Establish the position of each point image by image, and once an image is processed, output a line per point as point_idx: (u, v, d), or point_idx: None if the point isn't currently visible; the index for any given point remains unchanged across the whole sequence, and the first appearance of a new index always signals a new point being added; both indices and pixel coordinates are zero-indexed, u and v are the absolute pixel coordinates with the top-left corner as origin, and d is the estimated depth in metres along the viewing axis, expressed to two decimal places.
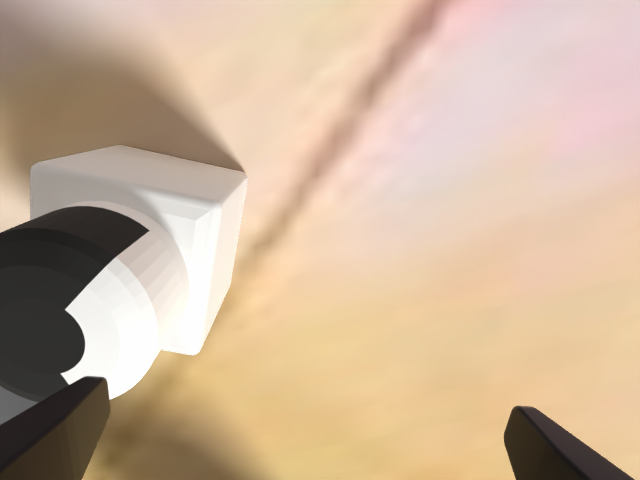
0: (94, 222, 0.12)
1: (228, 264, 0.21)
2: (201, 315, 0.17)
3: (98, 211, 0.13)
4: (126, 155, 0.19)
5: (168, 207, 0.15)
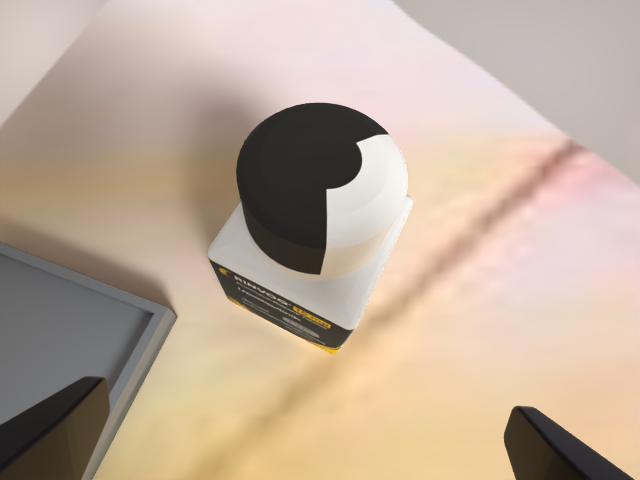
0: None
1: None
2: (372, 283, 0.17)
3: None
4: None
5: None
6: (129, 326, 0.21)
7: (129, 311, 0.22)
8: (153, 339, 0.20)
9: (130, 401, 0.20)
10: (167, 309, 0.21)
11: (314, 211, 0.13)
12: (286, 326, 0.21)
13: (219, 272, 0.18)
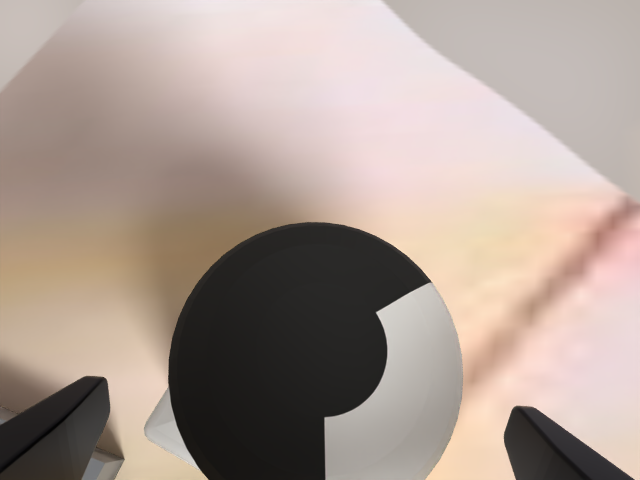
0: None
1: None
2: None
3: None
4: None
5: None
6: None
7: None
8: None
9: None
10: (104, 465, 0.15)
11: (302, 466, 0.07)
12: None
13: None
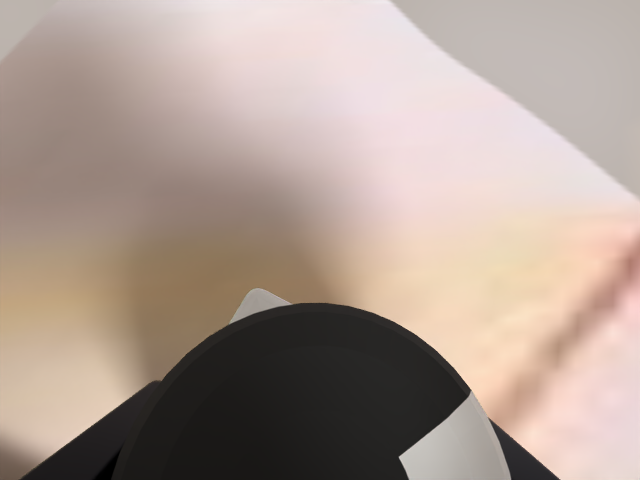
0: None
1: None
2: None
3: None
4: None
5: None
6: None
7: None
8: None
9: None
10: None
11: None
12: None
13: None
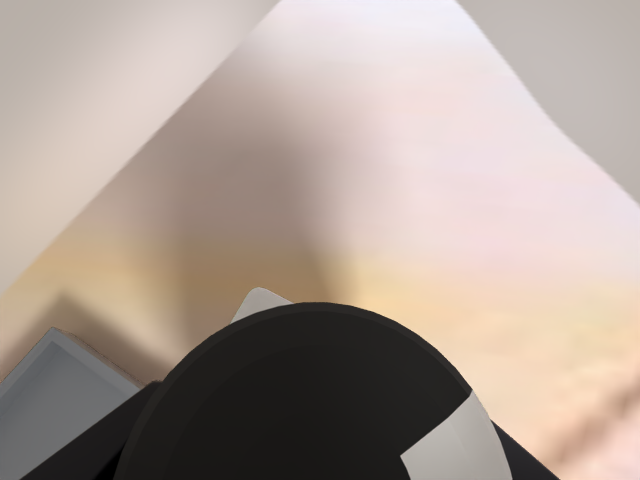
0: None
1: None
2: None
3: None
4: None
5: None
6: None
7: None
8: None
9: None
10: None
11: None
12: None
13: None
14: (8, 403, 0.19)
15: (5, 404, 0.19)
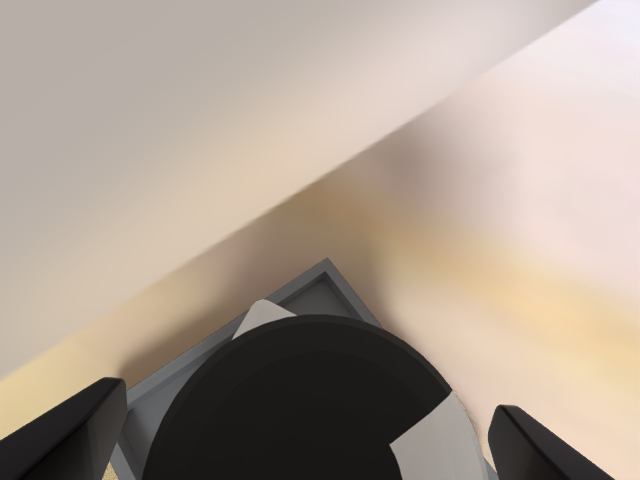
0: None
1: None
2: None
3: None
4: None
5: None
6: None
7: None
8: None
9: None
10: None
11: None
12: None
13: None
14: None
15: None
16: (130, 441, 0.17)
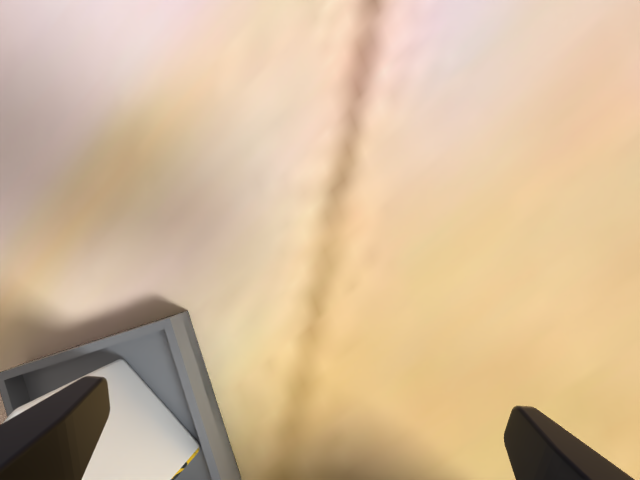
0: None
1: (148, 433, 0.21)
2: None
3: None
4: None
5: None
6: (160, 346, 0.23)
7: (151, 336, 0.23)
8: (181, 345, 0.22)
9: (209, 388, 0.23)
10: (170, 319, 0.22)
11: None
12: None
13: None
14: None
15: None
16: None
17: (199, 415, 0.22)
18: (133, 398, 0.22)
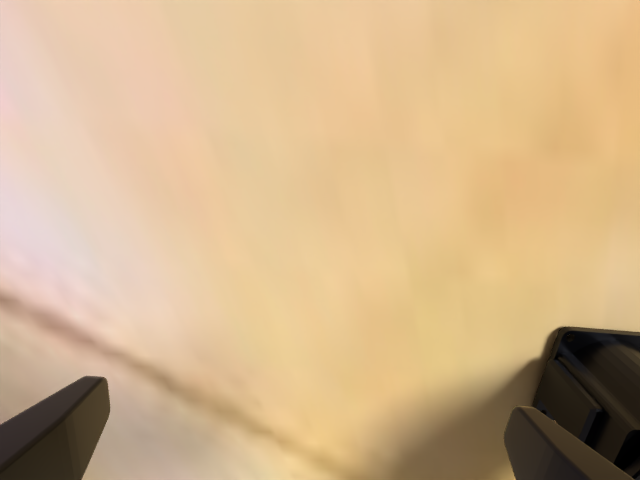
0: None
1: None
2: None
3: None
4: None
5: None
6: None
7: None
8: None
9: None
10: None
11: None
12: None
13: None
14: None
15: None
16: None
17: None
18: None
